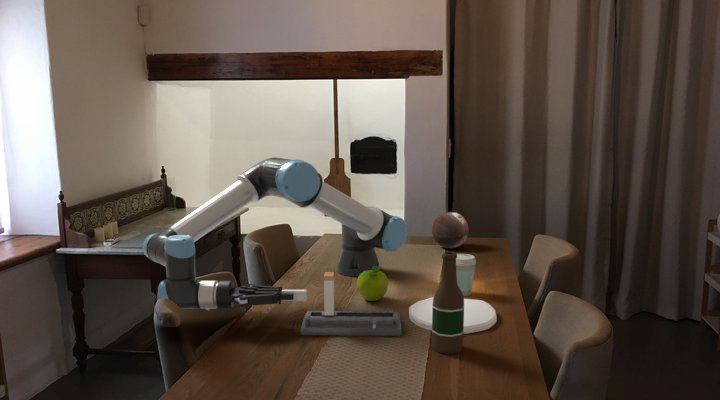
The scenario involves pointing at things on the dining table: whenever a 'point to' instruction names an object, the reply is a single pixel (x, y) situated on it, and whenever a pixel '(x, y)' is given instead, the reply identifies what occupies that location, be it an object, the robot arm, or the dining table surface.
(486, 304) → the decorative plate
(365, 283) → the fruit
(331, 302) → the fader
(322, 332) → the fader console
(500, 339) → the dining table surface
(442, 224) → the wooden sphere
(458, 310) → the beer bottle
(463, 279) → the coffee cup
